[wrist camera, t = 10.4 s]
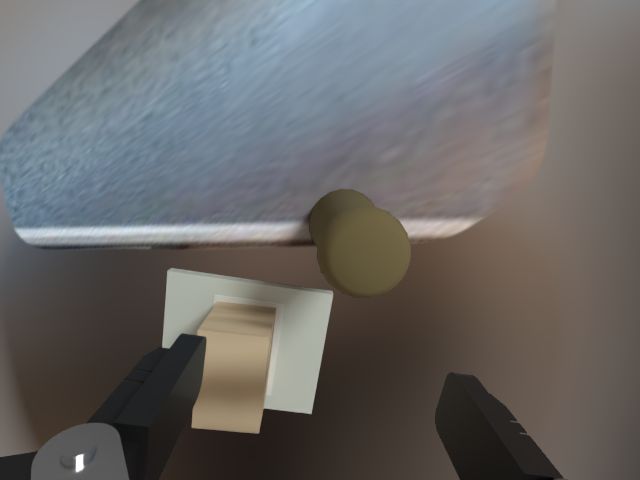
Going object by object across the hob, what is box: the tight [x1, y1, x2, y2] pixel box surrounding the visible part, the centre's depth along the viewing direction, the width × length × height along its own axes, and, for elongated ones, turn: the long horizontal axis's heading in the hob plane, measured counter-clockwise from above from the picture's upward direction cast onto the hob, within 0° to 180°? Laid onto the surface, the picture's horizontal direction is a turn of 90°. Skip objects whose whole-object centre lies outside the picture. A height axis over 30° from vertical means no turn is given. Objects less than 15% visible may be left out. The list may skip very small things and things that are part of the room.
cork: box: [309, 189, 411, 298], centre depth 21 cm, size 6×6×11 cm
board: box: [162, 268, 333, 414], centre depth 28 cm, size 12×14×1 cm
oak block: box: [192, 302, 276, 433], centre depth 25 cm, size 8×5×5 cm, turn 172°
